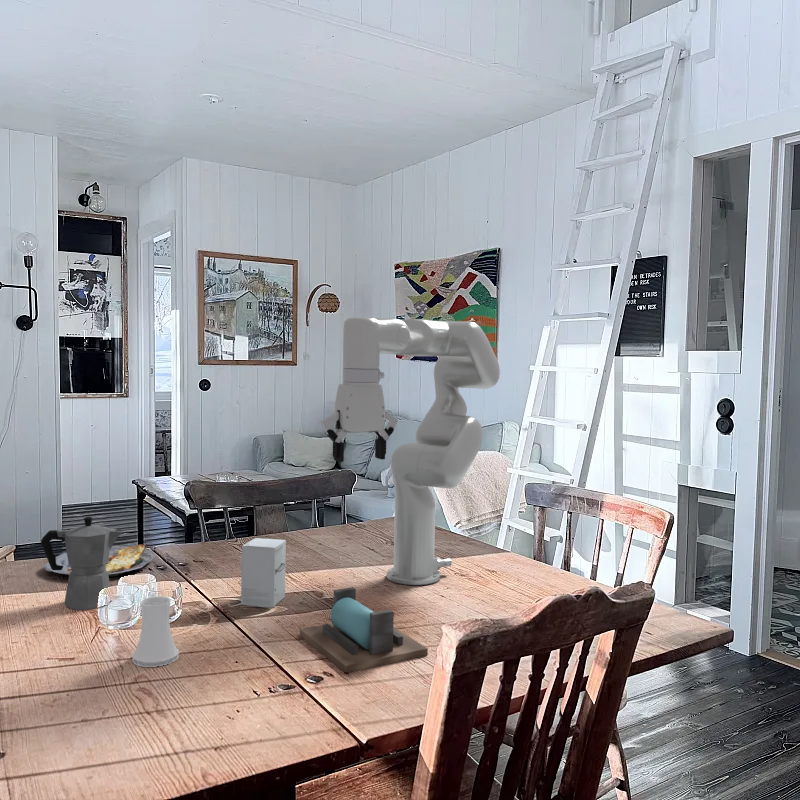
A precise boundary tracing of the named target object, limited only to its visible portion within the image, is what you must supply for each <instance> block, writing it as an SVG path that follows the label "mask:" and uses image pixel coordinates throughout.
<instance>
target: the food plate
mask: <svg viewBox="0 0 800 800" xmlns="http://www.w3.org/2000/svg"><path fill="white" fill-rule="evenodd" d="M130 550H133V551H130ZM114 552H117V553H114ZM113 554H116V555H113ZM55 557H56V564H57V565H61V566H62V565H63V568H62V570H52V569H51V566H50V564H49V561H47V562H46V563H44V566H43V569H45V571H47V572H53V573H56V574H57V573H58V574H61V575H64V576H65V575H70V573H71V569H70V568H71V565H70V564H69V563H68V557H67V552H66V553H65V552H64V553H61V554H59V555H57V556H55ZM156 557H157V553H155V552H154V551H153V550H152V551H151V550H149V548H146V545H145V544H142V543H141V544H137V545H133V546H132V545H131V546H129V545H128V546H127V545H113V546H112V547H111V549H110V553H109V560H108V561H110V562H109V563H108V562H107V563H108V564H106V571H107V572H108V577H113V576H114V577H115V576H116V577H117V576H119V574H123V573H125V572H126V573H127V572H130V571H133V570H138V569H142V568H143V567H144V566H146V565H148V564H149V563H151V561H152V560H154V559H155V558H156ZM68 569H70V572H68Z"/></svg>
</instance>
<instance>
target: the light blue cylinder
mask: <svg viewBox="0 0 800 800" xmlns="http://www.w3.org/2000/svg"><path fill="white" fill-rule="evenodd" d="M373 612H374V611H373V610H372V609H371V608H369V607H367V606H365V605H363V604H362V603H360V602H359V601H358V600H357V599H356V600H354V599H352V598H343V599H340V600H339V601H338V602H336V604H335V605H334V604H333V607H332V608H331V610H330V621H331V623H332V624H333V625H334V626H335V627H336V628H337V629H339V630H340V631H341V632H343V633H344V634H346V635H347V636H348V637H350V638H351V639H353V640H354V641H355V642H357V643H358V644H360V645H361V646H362V647H364V648H365V649H368V650H369V639H370V613H373Z"/></svg>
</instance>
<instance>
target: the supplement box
mask: <svg viewBox="0 0 800 800" xmlns="http://www.w3.org/2000/svg"><path fill="white" fill-rule="evenodd" d="M286 544H287V540H286V539H280V538H279V539H276V538H259V537H255V538H253V539H251V540H250V541H248V542H246V543H245V544H243V545H241V571H240V572H241V573H240V574H241V577H240V578H241V583H240V584H241V586H240V587H241V588H240V601H241V602H240V605H241V606H246V607H247V606H248V607H257V606H258V607H260V608H267V609H268V608H270V609H271V608H272V609H273V608H275V607H276V606H277V605H278V603H280V602H281V601H282V600H284V599H285V598H286V567H287V566H286V565H287V564H286V563H287V562H286V559H287V557H286V556H287V555H286V553H287V550H286V548H287V545H286Z"/></svg>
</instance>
